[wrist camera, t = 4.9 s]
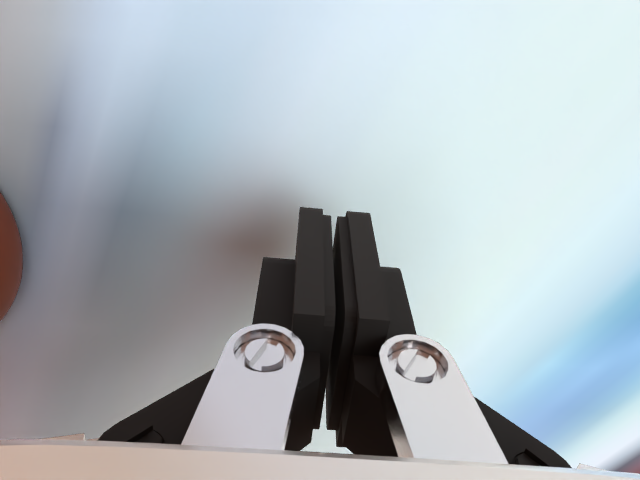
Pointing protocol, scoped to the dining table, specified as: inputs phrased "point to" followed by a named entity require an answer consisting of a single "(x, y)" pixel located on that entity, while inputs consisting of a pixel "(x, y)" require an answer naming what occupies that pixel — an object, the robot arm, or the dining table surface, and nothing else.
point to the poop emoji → (9, 258)
